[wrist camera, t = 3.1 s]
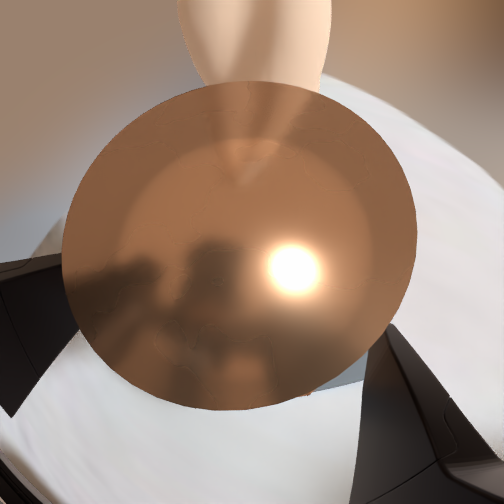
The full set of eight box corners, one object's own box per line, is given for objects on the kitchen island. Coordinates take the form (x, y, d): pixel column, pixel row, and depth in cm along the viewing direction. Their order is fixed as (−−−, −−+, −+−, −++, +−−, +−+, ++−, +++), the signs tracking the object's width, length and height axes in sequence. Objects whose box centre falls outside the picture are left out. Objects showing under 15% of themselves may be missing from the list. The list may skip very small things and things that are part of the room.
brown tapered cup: (211, 378, 16) (60, 404, 4) (198, 261, 18) (91, 123, 7) (337, 359, 15) (462, 353, 4) (313, 242, 18) (342, 69, 6)
